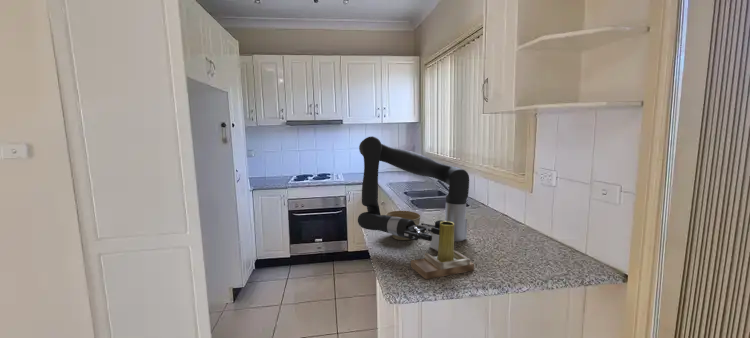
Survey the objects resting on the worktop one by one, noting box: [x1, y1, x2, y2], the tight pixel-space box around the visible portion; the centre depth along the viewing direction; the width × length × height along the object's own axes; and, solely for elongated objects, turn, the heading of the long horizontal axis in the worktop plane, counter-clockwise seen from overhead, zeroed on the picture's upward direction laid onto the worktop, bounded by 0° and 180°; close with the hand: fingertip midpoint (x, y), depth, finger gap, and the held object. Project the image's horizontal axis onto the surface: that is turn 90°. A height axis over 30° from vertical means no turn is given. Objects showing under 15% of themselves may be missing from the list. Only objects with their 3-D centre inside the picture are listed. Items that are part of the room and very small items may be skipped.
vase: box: [437, 220, 455, 262], centre depth 124 cm, size 6×6×14 cm
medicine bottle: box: [429, 219, 445, 252], centre depth 143 cm, size 7×7×12 cm
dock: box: [410, 249, 475, 280], centre depth 123 cm, size 20×11×4 cm, turn 112°
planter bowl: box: [385, 210, 421, 241], centre depth 157 cm, size 16×16×11 cm
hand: (437, 235), depth 126 cm, fingers open, 8 cm apart
